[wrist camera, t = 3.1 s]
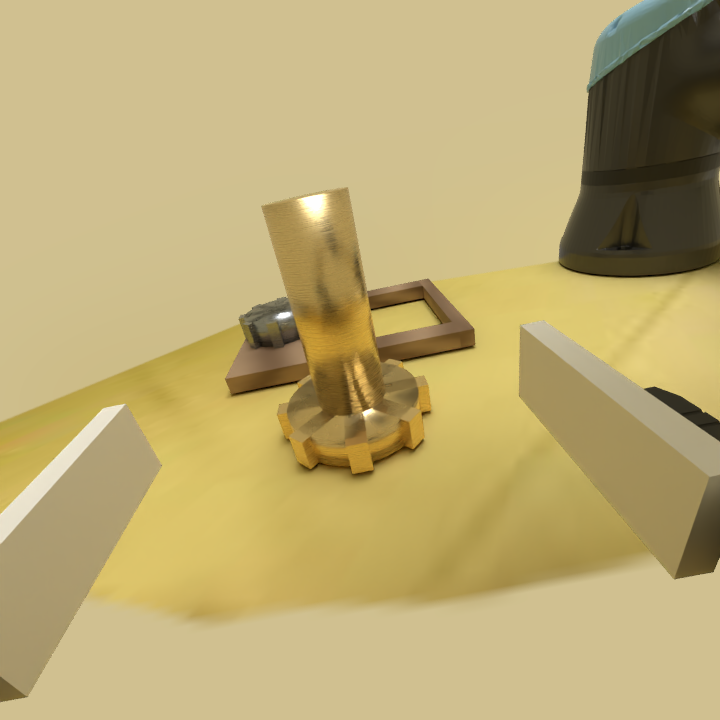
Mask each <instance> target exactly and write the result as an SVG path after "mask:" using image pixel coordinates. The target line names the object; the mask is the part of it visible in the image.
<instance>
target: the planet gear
mask: <svg viewBox="0 0 720 720" xmlns="http://www.w3.org/2000/svg"><path fill="white" fill-rule="evenodd" d="M262 210H263V213H264V217H265V220H266V224H267V227H268V231H269V234H270V238H271V241H272V244H273V248H274V251H275V255H276V258H277V261H278V265H279V268H280V272H281V275H282V279H283V282H284V285H285V289H286V292H287V296H288V299H289V303H290V306H291V310H292V313H293V317H294V320H295V323H296V327H297V330H298V334H299V337H300V341H301V344H302V348H303V351H304V354H305V358H306V361H307V365H308V368H309V372H310V375H308V376H307V377H305V378H304V379H302V380H301V381H299V382H298V383H297V384H298V387H299V389H298V390H297V391H296V392H295V393H294V395H293V396H292V397H291V399H290V401H289V403H284V404H279V409H278V413H277V416H278V419H279V422H280V424H281V427H282V430H283V433H284V435H285V438H286V439H288V438H289V439H290V442H291V444H292V447H293V450H294V453H295V456H296V458H297V461H298V462H299V463H301V464H302V465H304V466H306V467H308V468H309V469H312V468H313V467H314V466H315V465H316V464H317V463H318V462H319V463H323V464H327V465H333V466H351V469H352V473H353V474H355V473H360V472H366V471H371V470H374V467H373V461H376V460H379V459H382V458H384V457H386V456H389V455H391V454H392V453H394V452H396V451H398V450H399V449H400V448H402V447H403V446H407V447H409V448H411V449H414V448H415V447H416V446H417V445H418V444H419V443H420V442H421V440H422V439H423V438H424V429H423V422H422V412H425V411H431V404H430V396H429V387H428V383H427V381H426V379H425V377H424V376H419V377H414V376H413V375H412V374H411V373H409V372H408V371H407V370H405V369H404V368H403V362H402V361H397V360H393V359H388V360H387V361H386V362H384V363H382V362H380V358H379V353H378V347H377V342H376V337H375V331H374V326H373V320H372V315H371V310H370V304H369V299H368V293H367V288H366V283H365V277H364V272H363V266H362V261H361V255H360V250H359V245H358V239H357V234H356V229H355V223H354V218H353V212H352V207H351V202H350V196H349V191H348V187H345V188H338V189H332V190H326V191H321V192H316V193H312V194H307V195H302V196H298V197H293V198H289V199H284V200H280V201H277V202H272V203H269V204H265V205H262Z"/></svg>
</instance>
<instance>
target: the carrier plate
mask: <svg viewBox="0 0 720 720" xmlns="http://www.w3.org/2000/svg"><path fill="white" fill-rule="evenodd" d="M367 293H368V299H369V304H370V309H372V308H377V307H382V306H387V305H392V304H397V303H402V302H407V301H411V300H416V299H421V298H424V299H425V300H426V302H427V303H428V304H429V306H430V307H431V308H432V310H433V311H434V312H435V314H436V315H437V316H438V318H439V319H440V320H441V322H442V323H443V324H439V325H434V326H429V327H424V328H420V329H415V330H410V331H405V332H400V333H395V334H390V335H385V336H380V337H376V342H377V347H378V353H379V358H380V362H382V363H384V362H386V361H387V360H388V359H393V360H397V361H398V360H403V359H408V358H413V357H418V356H423V355H428V354H433V353H438V352H443V351H448V350H453V349H458V348H463V347H468V346H473V345H475V334H474V328H473V327H472V326H471V325H470V324H469V322H468V321H467V320H466V319H465V318H464V317H463V316H462V315H461V314H460V313H459V312H458V311H457V309H456V308H455V307H454V306H453V305H452V304H451V303H450V302H449V301H448V300H447V299H446V297H445V296H444V295H443V294H442V293H441V292H440V291H439V290H438V289H437V288H436V287H435V286H434V284H433V283H432V282H431V281H430V280H429V279H424V280H420V281H415V282H410V283H405V284H400V285H395V286H390V287H386V288H380V289H376V290H371V291H367ZM308 375H310V372H309V368H308V365H307V361H306V358H305V354H304V351H303V348H302V344H301V341H300V339H299V340H297V341H294V342H291V343H288V344H285V347H281V348H276V349H274V347H260V348H258V349H254V348H251V347H250V344H249V341H247V340H246V339H245V341H244V343H243V345H242V347H241V349H240V351H239V353H238V355H237V357H236V359H235V361H234V363H233V365H232V366H231V368H230V370H229V372H228V374H227V376H226V378H225V380H226V382H227V385H228V387H229V389H230V392H231V394H233V393H238V392H243V391H248V390H253V389H258V388H263V387H268V386H273V385H278V384H283V383H288V382H293V381H298V380H302V379H304V378H305V377H307V376H308Z"/></svg>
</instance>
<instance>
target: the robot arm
mask: <svg viewBox="0 0 720 720" xmlns="http://www.w3.org/2000/svg"><path fill="white" fill-rule="evenodd" d="M587 92H589V96H588V108H587V121H586V133H585V146H584V157H583V167H582V179H581V190H580V194H579V197H578V200H577V202H576V205H575V207H574V209H573V212H572V214H571V217H570V219H569V222H568V224H567V227H566V229H565V232H564V235H563V237H562V239H561V242H560V249H559V262H560V263H561V264H562V265H563V266H565V267H567V268H570V269H573V270H576V271H580V272H586V273H592V274H602V275H620V276H636V275H656V274H666V273H674V272H681V271H687V270H691V269H696V268H700V267H703V266H706V265H709V264H711V263H714V262H716V261H717V260H719V259H720V187H719V180H718V178H719V170H720V0H644V1H642V2H640V3H639V4H637V5H635V6H634V7H632V8H630V9H629V10H627V11H626V12H624V13H623V14H622V15H620V16H619V17H617V18H616V19H615V20H613V22H611V23H610V24H609V25H608V26H607V27H606V28H605V29H604V31H603V32H602V33H601V35H600V36H599V38H598V40H597V42H596V44H595V47H594V53H593V60H592V67H591V74H590V82H589V84H588V85H587ZM519 397H520V398H521V399H522V400H523V401H524V402H525V404H526V405H527V406H528V407H529V408H530V410H531V411H532V412H533V413H534V414H535V415H536V417H537V418H538V419H539V420H540V421H541V423H542V424H543V425H544V426H545V427H546V429H547V430H548V431H549V432H550V433H551V434H552V436H553V437H554V438H555V439H556V440H557V442H558V443H559V444H560V445H561V446H562V447H563V449H564V450H565V451H566V452H567V453H568V455H569V456H570V457H571V458H572V459H573V460H574V462H575V463H576V464H577V465H578V466H579V468H580V469H581V470H582V471H583V472H584V473H585V475H586V476H587V477H588V478H589V479H590V481H591V482H592V483H593V484H594V485H595V486H596V488H597V489H598V490H599V491H600V492H601V494H602V495H603V496H604V497H605V498H606V499H607V501H608V502H609V503H610V504H611V505H612V507H613V508H614V509H615V510H616V511H617V512H618V514H619V515H620V516H621V517H622V518H623V520H624V521H625V522H626V523H627V524H628V525H629V527H630V528H631V529H632V530H633V531H634V533H635V534H636V535H637V536H638V537H639V538H640V540H641V541H642V542H643V543H644V544H645V546H646V547H647V548H648V549H649V550H650V551H651V553H652V554H653V555H654V556H655V557H656V559H657V560H658V561H659V562H660V563H661V564H662V566H663V567H664V568H665V569H666V570H667V572H668V573H669V574H670V575H671V576H672V577H673V578H674V579H678V578H684V577H689V576H694V575H700V574H706V573H711V572H714V569H715V567H716V565H717V562H718V560H719V558H720V422H719V420H717V419H716V418H714V417H712V416H711V415H709V414H708V413H706V412H705V413H703V412H702V410H701V409H700V408H698V407H697V406H695V405H694V404H692V403H690V402H689V401H687V400H686V399H684V398H683V397H681V396H678V395H676V394H673V393H670V392H668V391H665V390H662V389H660V388H657V387H650V388H645V389H643V388H641V387H640V386H638V385H637V384H635V383H634V382H632V381H631V380H629V379H628V378H627V377H625V376H624V375H622V374H621V373H619V372H618V371H616V370H615V369H613V368H612V367H611V366H609V365H608V364H606V363H605V362H603V361H602V360H600V359H599V358H598V357H596V356H595V355H593V354H592V353H590V352H589V351H587V350H586V349H584V348H583V347H582V346H580V345H579V344H577V343H576V342H574V341H573V340H571V339H570V338H568V337H567V336H566V335H564V334H563V333H561V332H560V331H558V330H557V329H555V328H554V327H553V326H551V325H550V324H548V323H547V322H545V321H544V320H543V321H538V322H533V323H528V324H523V325H520V363H519ZM161 466H162V465H161V463H160V461H159V460H158V458H157V456H156V454H155V453H154V451H153V449H152V448H151V446H150V444H149V442H148V441H147V439H146V437H145V436H144V434H143V432H142V430H141V429H140V427H139V425H138V424H137V422H136V420H135V418H134V417H133V415H132V413H131V412H130V410H129V408H128V406H127V405H126V404H122V405H117V406H112V407H107V408H103V409H102V410H101V411H100V412H99V413H98V414H97V416H96V417H95V418H94V419H93V420H92V421H91V422H90V423H89V424H88V425H87V426H86V427H85V428H84V429H83V430H82V431H81V432H80V433H79V434H78V435H77V436H76V437H75V438H74V439H73V440H72V441H71V442H70V443H69V444H68V445H67V446H66V447H65V448H64V449H63V450H62V452H61V453H60V454H59V455H58V456H57V457H56V458H55V459H54V460H53V461H52V462H51V463H50V464H49V465H48V466H47V467H46V468H45V469H44V470H43V471H42V472H41V473H40V474H39V475H38V476H37V477H36V478H35V479H34V480H33V481H32V482H31V483H30V484H29V485H28V486H27V488H26V489H25V490H24V491H23V492H22V493H21V494H20V495H19V496H18V497H17V498H16V499H15V500H14V501H13V502H12V503H11V504H10V505H9V506H8V507H7V508H6V509H5V510H4V511H3V512H2V513H1V514H0V702H3V701H8V700H14V699H19V698H25V697H28V695H29V693H30V692H31V690H32V689H33V687H34V685H35V683H36V682H37V680H38V678H39V676H40V675H41V673H42V671H43V670H44V668H45V666H46V664H47V663H48V661H49V659H50V658H51V656H52V654H53V652H54V651H55V649H56V647H57V645H58V644H59V642H60V640H61V638H62V637H63V635H64V633H65V632H66V630H67V628H68V627H69V625H70V623H71V621H72V620H73V618H74V616H75V614H76V613H77V611H78V609H79V608H80V606H81V604H82V602H83V601H84V599H85V597H86V596H87V594H88V592H89V590H90V589H91V587H92V585H93V584H94V582H95V580H96V578H97V577H98V575H99V573H100V571H101V570H102V568H103V566H104V565H105V563H106V561H107V559H108V558H109V556H110V554H111V553H112V551H113V549H114V547H115V546H116V544H117V542H118V540H119V539H120V537H121V535H122V534H123V532H124V530H125V528H126V527H127V525H128V523H129V522H130V520H131V518H132V516H133V515H134V513H135V511H136V509H137V508H138V506H139V504H140V503H141V501H142V499H143V497H144V496H145V494H146V492H147V491H148V489H149V487H150V485H151V484H152V482H153V480H154V478H155V477H156V475H157V473H158V472H159V470H160V468H161Z"/></svg>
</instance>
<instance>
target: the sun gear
mask: <svg viewBox="0 0 720 720" xmlns="http://www.w3.org/2000/svg"><path fill="white" fill-rule="evenodd" d="M239 321H240V324H241V326H242V329H243V332H244V335H245V337H246V340H247V341H249V344H250V347H251V348H254V349H258V348H260V347H274V349H276V348H281V347H285V344H288V343H291V342H294V341H297V340H299V339H300V337H299V334H298V330H297V327H296V323H295V320H294V317H293V313H292V310H291V306H290V303H289V299H288V298H286V297H283V298H278V299H277V300H275V301H272V302H268V303H266V304H263V305H261V304H259V305H257V306H255V307H252V310H251V311H249V312H248V313H247V314H244V315H241V316H240V317H239Z"/></svg>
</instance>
